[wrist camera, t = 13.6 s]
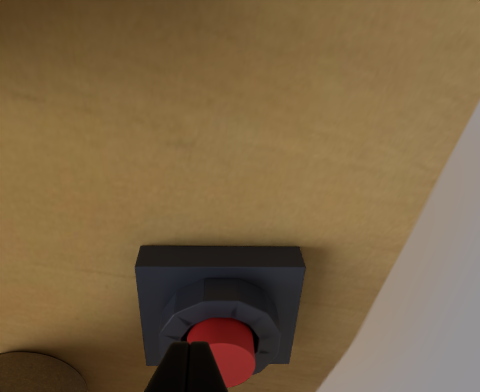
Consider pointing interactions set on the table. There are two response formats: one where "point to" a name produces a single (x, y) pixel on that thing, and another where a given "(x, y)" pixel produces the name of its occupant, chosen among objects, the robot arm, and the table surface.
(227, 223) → the table surface
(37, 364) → the plant pot
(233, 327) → the red button
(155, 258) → the button box
